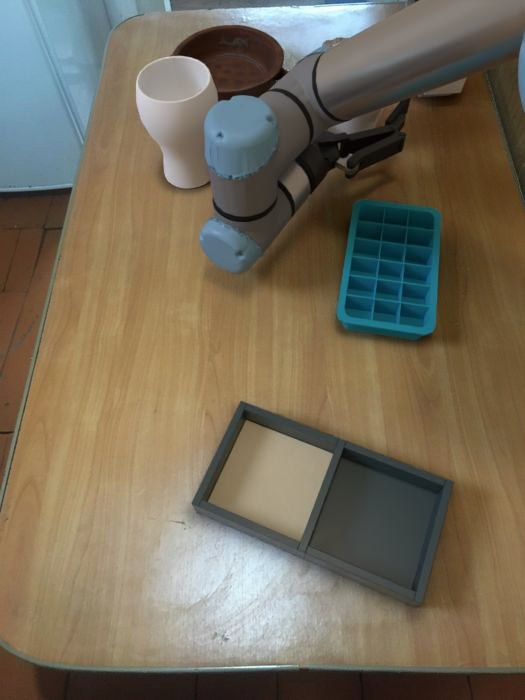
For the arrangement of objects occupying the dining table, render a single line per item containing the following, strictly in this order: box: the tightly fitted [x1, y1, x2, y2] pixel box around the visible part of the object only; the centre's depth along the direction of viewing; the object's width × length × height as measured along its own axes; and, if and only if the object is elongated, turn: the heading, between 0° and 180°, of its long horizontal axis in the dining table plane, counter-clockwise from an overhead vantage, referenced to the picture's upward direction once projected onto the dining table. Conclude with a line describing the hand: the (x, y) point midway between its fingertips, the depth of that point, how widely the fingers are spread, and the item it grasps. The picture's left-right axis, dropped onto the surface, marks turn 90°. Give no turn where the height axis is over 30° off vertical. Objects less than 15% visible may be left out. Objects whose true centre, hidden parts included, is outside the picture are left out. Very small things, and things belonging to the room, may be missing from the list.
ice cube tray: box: [336, 198, 442, 341], centre depth 71 cm, size 12×20×3 cm, turn 169°
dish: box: [168, 24, 289, 102], centre depth 91 cm, size 18×22×5 cm
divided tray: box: [190, 400, 455, 608], centre depth 56 cm, size 23×12×4 cm, turn 67°
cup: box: [135, 55, 218, 189], centre depth 76 cm, size 11×11×15 cm
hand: (364, 87), depth 80 cm, fingers open, 13 cm apart
